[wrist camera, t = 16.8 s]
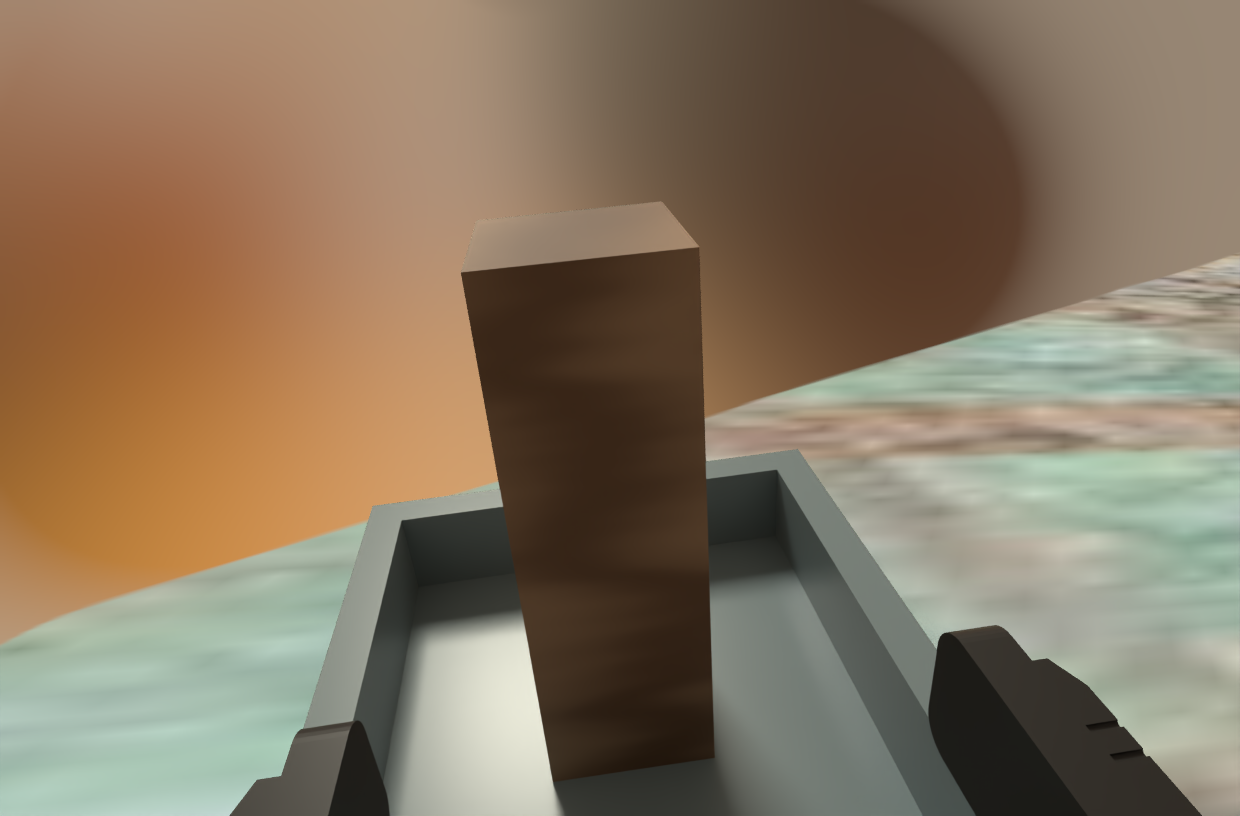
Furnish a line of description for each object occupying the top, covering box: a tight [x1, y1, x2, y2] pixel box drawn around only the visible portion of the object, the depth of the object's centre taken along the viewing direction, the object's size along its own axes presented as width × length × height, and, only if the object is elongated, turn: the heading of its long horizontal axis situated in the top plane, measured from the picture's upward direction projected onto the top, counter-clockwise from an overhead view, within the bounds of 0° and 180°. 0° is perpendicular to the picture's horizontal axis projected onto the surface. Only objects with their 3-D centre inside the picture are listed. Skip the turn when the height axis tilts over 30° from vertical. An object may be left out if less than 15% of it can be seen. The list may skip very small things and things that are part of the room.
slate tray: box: [303, 449, 976, 816], centre depth 21 cm, size 16×16×4 cm
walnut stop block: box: [461, 202, 715, 782], centre depth 19 cm, size 4×4×14 cm
